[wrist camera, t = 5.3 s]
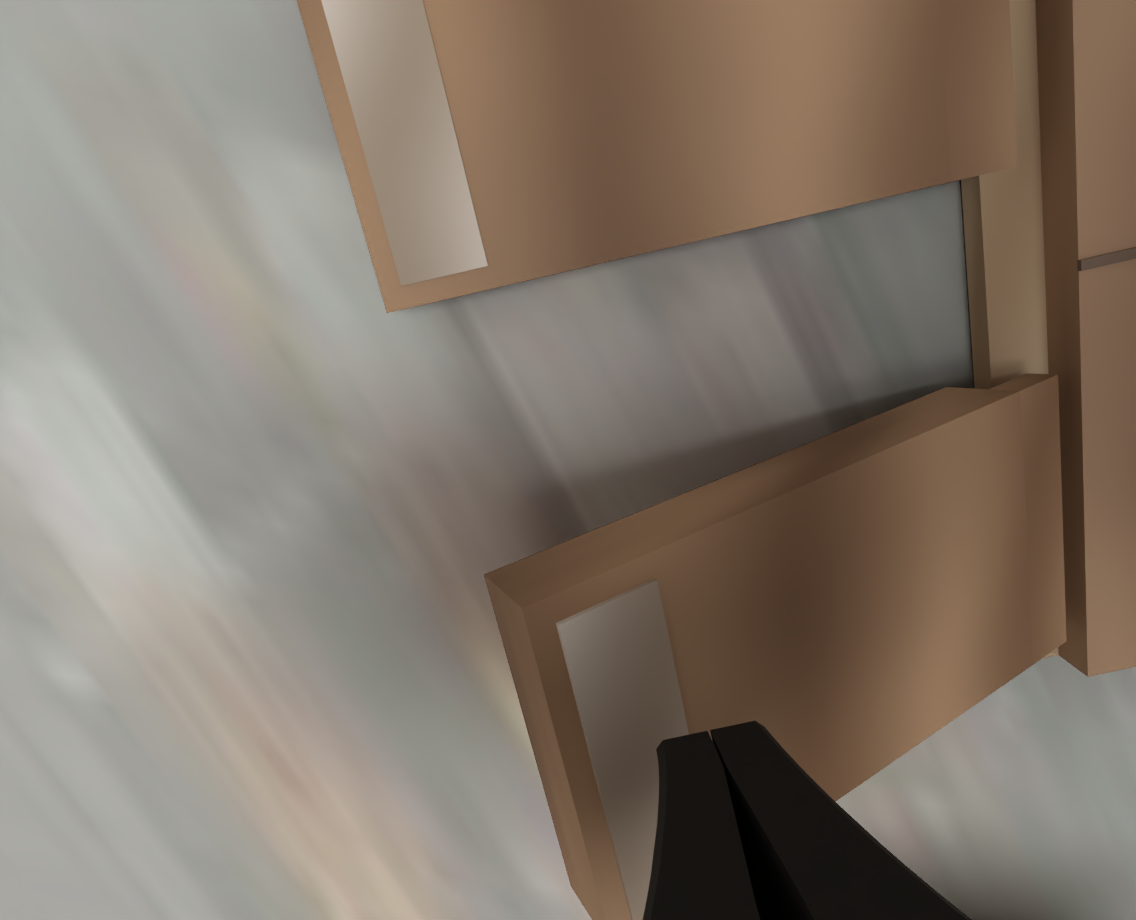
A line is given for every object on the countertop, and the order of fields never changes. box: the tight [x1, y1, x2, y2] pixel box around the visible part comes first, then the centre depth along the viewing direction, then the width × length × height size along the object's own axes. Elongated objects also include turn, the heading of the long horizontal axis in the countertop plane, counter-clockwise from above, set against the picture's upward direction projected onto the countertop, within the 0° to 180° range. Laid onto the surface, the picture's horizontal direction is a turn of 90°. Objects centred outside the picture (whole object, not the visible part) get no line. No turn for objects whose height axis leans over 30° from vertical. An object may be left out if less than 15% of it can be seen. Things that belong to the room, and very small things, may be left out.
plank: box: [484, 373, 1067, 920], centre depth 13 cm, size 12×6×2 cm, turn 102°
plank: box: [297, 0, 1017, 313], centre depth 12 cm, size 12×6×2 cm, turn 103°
